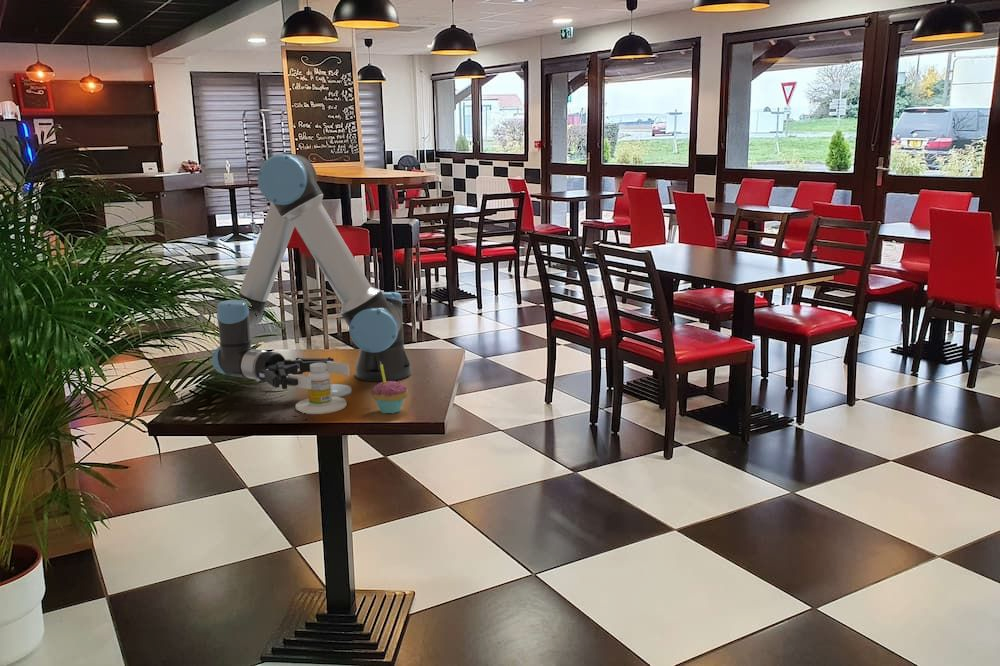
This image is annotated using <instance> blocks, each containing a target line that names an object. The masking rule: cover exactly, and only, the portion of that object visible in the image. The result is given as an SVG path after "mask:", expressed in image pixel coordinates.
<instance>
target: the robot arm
mask: <svg viewBox="0 0 1000 666" xmlns="http://www.w3.org/2000/svg"><path fill="white" fill-rule="evenodd" d="M316 171H317V170H316V169H315V167H314V165H313V164H312V163H311V161H309V160H308V159H307V158H306V157H304V156H302V155H300V154H295V153H277V154H275V155H272V156H270V157H268V158H267V159H266V160H265V161H263V163H262V165H260V168H259V169H258V174H257V185H258V188H259V190H260V193H261V194H262V195H263V196H264V198H265V199H266V200H267V201H269V203H270V206H269V209H268V211H267V213H266V216H265V220H264V222H263V225H262V228H261V231H260V234H259V237H258V239H257V241H256V245H255V247H254V250H253V253H252V256H251V259H250V260H249V261H250V262H249V264H248V267H247V270H246V271H245V272H246V273H245V275H244V278H243V280H242V282H241V283H242V284H241V286H240V289H239V292H238V294H239V297H241V298H244V299H247V300H248V301H249V302H250V303H251V305H252V307H249V306H248V304H247V302H246V301H244V300H237V299H228V300H221V301H220V302H218V303H217V306H216V308H217V314H216V318H217V324H218V333H219V335H218V336H219V344H220V345H219V346H218V347H216V348H215V350H214V351H213V356H212V358H211V364H212V366H213V368H214V369H215V371H216V372H218V373H220V374H223V375H227V376H229V377H238V378H244V379H251V380H255V382H259V381H262V382H266V383H268V384H269V385H271V386H272V387H273V388H277V389H278V388H280V386H281V389H282V390H287V389H288V387H293V388H299V389H305V390H308V389H312V388H311V377H308V376H305V375H303V374H304V373H309V372H310V373H311V371H310V364H313V363H320V362H322V363H326V364H327V370H326V371H327V372H329V373H330V374H336V375H337V374H338V375H343V376H350V375H351V374H350V373H351V372H350V371H351V370H350V364H349V363H346V362H338V361H334V358H332V357H330V356H329V357H327V358H325V357H324V358H322V357H321V358H320V357H318V358H317V357H314V358H311V357H310V358H307V357H306V358H303V357H295V359H285V357H284V355H282V353H280V352H274V351H269V350H262V349H256V348H255V349H254V348H252V339H251V330H252V328H254V327H255V326H257V325H258V324H260V323H261V322H262V320H263V319H264V317H265V314H264V312H263V311H265V312H266V309H265V308H266V306H267V305H266V304H267V302H268V299H269V296H270V294H271V291H272V288H273V286H274V283H275V280H276V277H277V275H278V272H279V269H280V267H281V264H282V261H283V259H284V256H285V254H286V251H287V247H288V245H289V243H290V240H291V237H292V235H293V232H294V229H296V231H297V233H298V235H299V237H301V239H302V241H303V243H304V244H305V246H306V248H307V249H308V251H309V252H310V254H311V256H312V257H313V258H314V260H315V262H316V263H317V266H318V267H319V268H320V271H322V274H323V275H324V278H325V279H326V281H327V282H328V283H329V285H330V286H331V288H332V290H333V292H334V293H335V295H336V296H337V299H338V300H339V302H340V303H341V309H340V312H339V313H340V314H341V316H342V318H343V320H344V321H345V323H346V325H347V326H348V328H349V329H348V330H349V335H350V339H351V340H352V342H353V343H354V345H355V346H356V347H357V348H358V349H359V350H360V351H359V355H358V358H357V363H356V365H355V376H356V378H357V379H359V380H363V381H365V382H366V381H368V382H383V378H382V373H381V368H380V365H381V364H383V369H384V374H385V378H386V381H398V380H401V379H405V378H407V376H408V377H410V376H411V374H412V365H411V362H410V359H409V356H408V354H407V351H406V349H405V345H404V321H403V319H404V317H403V304H404V302H403V299H402V294H401V293H399V292H396V291H388V292H387V291H382V290H381V289H379V288H376V287H373V286H372V285H371V283H370V282H369V280H368V279H367V277H366V275H365V274H364V271H363V270H362V268H361V267H360V265H359V263H358V262H357V260H356V259H355V257H354V256H353V253H352V252H351V250H350V249H349V247H348V245H347V244H346V242H345V240H344V239H343V237H342V234H340V232H339V230H338V229H337V226H336V225H335V224H334V222H333V220H332V219H331V217H330V215H329V214H328V212H327V210H326V208H325V207H324V205H323V198H324V193H323V191H322V190H321V188H320V186H319V184H318V182H317V176H318V175H317V172H316ZM248 307H249V308H251V309H249V308H248ZM249 310H250V311H251V312H250V311H249ZM255 314H256V315H257V316H256V315H255ZM263 314H264V316H263ZM380 362H381V364H380ZM298 369H299V370H298Z"/></svg>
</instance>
